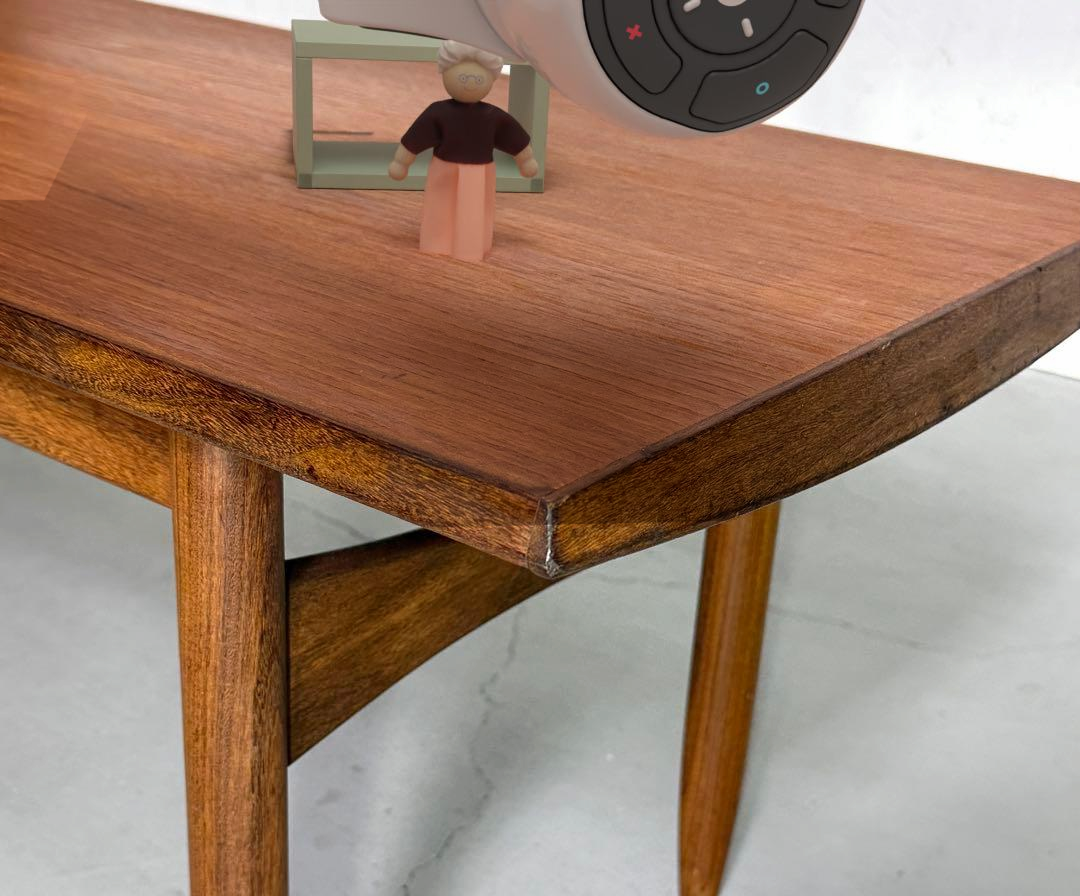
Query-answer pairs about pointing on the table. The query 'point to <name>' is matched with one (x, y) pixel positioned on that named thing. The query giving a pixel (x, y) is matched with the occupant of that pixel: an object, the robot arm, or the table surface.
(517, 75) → the frame
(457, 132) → the grandmother figurine
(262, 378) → the table surface
